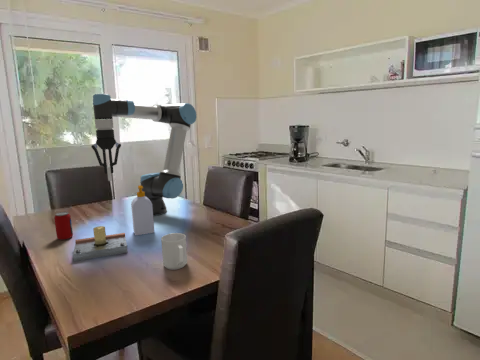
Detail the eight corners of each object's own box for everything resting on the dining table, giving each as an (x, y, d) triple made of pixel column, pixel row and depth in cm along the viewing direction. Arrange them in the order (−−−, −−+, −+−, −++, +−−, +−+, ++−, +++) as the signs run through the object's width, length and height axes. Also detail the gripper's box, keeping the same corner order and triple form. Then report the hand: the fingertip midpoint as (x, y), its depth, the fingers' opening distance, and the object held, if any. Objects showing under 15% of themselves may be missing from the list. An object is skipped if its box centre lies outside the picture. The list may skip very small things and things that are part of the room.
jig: (125, 241, 150) (124, 232, 149) (127, 252, 137) (126, 243, 136) (76, 248, 142) (75, 239, 142) (74, 261, 130) (72, 251, 129)
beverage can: (76, 236, 158) (73, 211, 155) (64, 241, 151) (61, 216, 149) (65, 234, 160) (62, 210, 158) (53, 239, 154) (50, 214, 151)
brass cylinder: (107, 247, 143) (104, 225, 141) (107, 251, 138) (105, 228, 136) (95, 249, 141) (93, 227, 139) (95, 253, 137) (93, 230, 135)
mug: (160, 263, 126) (158, 236, 123) (182, 258, 130) (180, 231, 128) (170, 276, 115) (168, 246, 113) (194, 269, 120) (192, 240, 118)
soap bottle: (152, 228, 166) (148, 183, 162) (154, 232, 160) (150, 186, 155) (133, 231, 163) (129, 185, 158) (135, 235, 156) (130, 188, 152)
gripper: (119, 128, 155) (124, 177, 160) (89, 129, 151) (94, 180, 155) (120, 128, 149) (125, 180, 153) (88, 129, 144) (94, 183, 148)
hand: (109, 180), depth 154 cm, fingers closed
